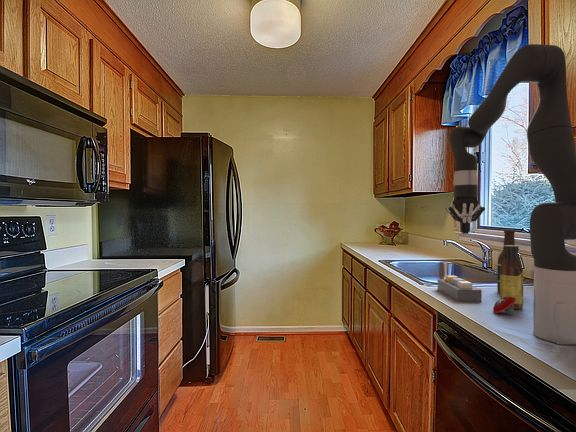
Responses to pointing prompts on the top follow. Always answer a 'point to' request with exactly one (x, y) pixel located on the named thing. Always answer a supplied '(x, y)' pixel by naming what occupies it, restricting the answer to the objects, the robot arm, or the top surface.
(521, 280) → the sauce bottle
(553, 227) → the robot arm
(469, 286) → the ivory key
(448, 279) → the ochre key
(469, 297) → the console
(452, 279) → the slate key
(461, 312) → the top surface
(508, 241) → the beer bottle
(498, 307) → the button
